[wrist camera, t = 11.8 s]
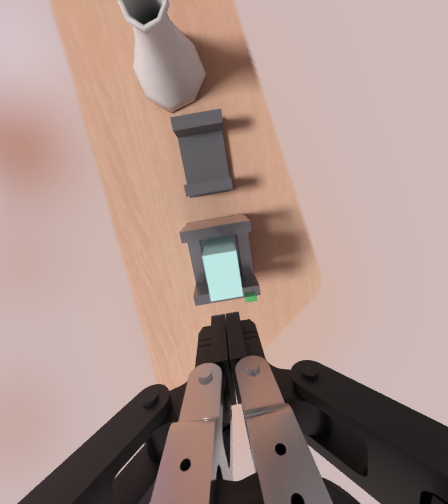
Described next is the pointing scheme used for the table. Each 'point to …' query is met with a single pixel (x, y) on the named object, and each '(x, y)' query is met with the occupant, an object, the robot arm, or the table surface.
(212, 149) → the grey ridged tray
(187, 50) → the flask
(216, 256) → the plug
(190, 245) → the port
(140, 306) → the table surface
